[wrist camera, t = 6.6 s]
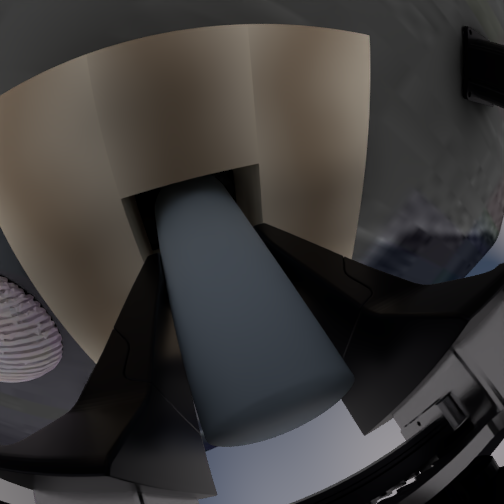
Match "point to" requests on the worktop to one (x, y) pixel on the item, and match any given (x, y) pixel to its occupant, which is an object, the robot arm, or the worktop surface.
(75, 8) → the worktop surface
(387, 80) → the worktop surface
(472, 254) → the worktop surface
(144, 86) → the socket block
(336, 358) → the dowel
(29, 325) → the seashell
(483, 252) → the worktop surface
